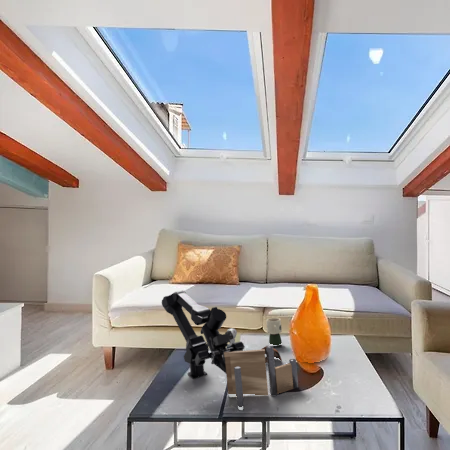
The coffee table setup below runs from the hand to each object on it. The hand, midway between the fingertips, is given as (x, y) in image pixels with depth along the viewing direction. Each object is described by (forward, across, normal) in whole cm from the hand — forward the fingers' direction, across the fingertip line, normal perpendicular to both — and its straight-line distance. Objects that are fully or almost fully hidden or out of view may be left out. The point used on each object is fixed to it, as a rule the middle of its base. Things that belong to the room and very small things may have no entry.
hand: (228, 374), depth 137 cm
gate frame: (+12, +10, -2) cm, 16 cm away
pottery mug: (-7, +29, +18) cm, 35 cm away
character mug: (-18, +43, +29) cm, 55 cm away
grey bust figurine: (-23, +23, +34) cm, 47 cm away
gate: (+9, +4, +2) cm, 10 cm away
